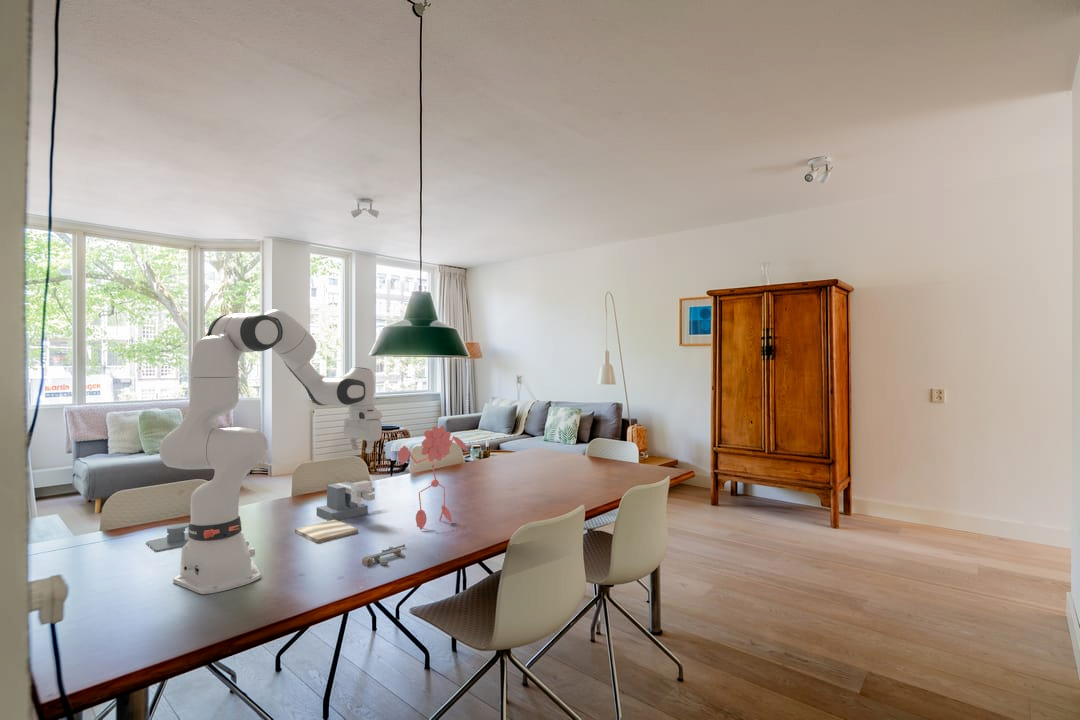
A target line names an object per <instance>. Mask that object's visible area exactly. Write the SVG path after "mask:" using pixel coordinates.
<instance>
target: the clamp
mask: <svg viewBox="0 0 1080 720" xmlns="http://www.w3.org/2000/svg"><path fill="white" fill-rule="evenodd" d="M405 547H406V543H403V544H402V545H398V546H396V547H393V546H389V547H388V549H382V550H381V552H378V553H374V554H371V555H366V556H363V557H362V559H361V564H362V565H363V566H364V567H369V566H373V564H374V563H379V564H380V565H381V566H387V565H388V564H389V561H388V560H389V559H393V558H397V557H402V558H405V557H406V555H405V554H404V553H403V552H402V549H401V548H405ZM390 554H393V555H390ZM388 555H390V556H388ZM382 556H386V557H382ZM381 557H382V558H381Z"/></svg>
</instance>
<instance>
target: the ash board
mask: <svg viewBox="0 0 1080 720" xmlns="http://www.w3.org/2000/svg"><path fill="white" fill-rule="evenodd" d="M294 533H295V534H297V535H299V536H302V537H303V538H305V539H307V540H310V541H311V542H312V543H313V542H314V543H315V544H319V543H323V542H327V541H331V540H335V539H338V538H342V537H346V536H350V535H354V534H358V533H359V528H357V527H354V526H351V525H350V524H347V523H344V522H342V521H341V520H338V521H337V520H331V521H329V520H326V521H323V522H318V523H315V524H310V525H306V526H300V527H298V528H294Z"/></svg>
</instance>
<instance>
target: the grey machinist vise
mask: <svg viewBox="0 0 1080 720" xmlns="http://www.w3.org/2000/svg"><path fill="white" fill-rule="evenodd" d="M351 483H352V482H349V481H343V482H339V483H332V484H327V485H326V505H321V506H316V517H319V518H322V519H324V520H326V521H331V520H337V521H341V520H347V519H350V518H354V517H359V516H362V515H367V514H368V513H369V508H368V507H369V505H367V504H365V503H362V502H361V503H354V502H351ZM375 490H376V489H375V487H373V486H372V493H371V492H368V491H367V492H362V493H361V499H362V500H364V499H366V500H365V501H367V500H371V501H374V500H376V497H375V496H376V494H375V493H374V492H375Z"/></svg>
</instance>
